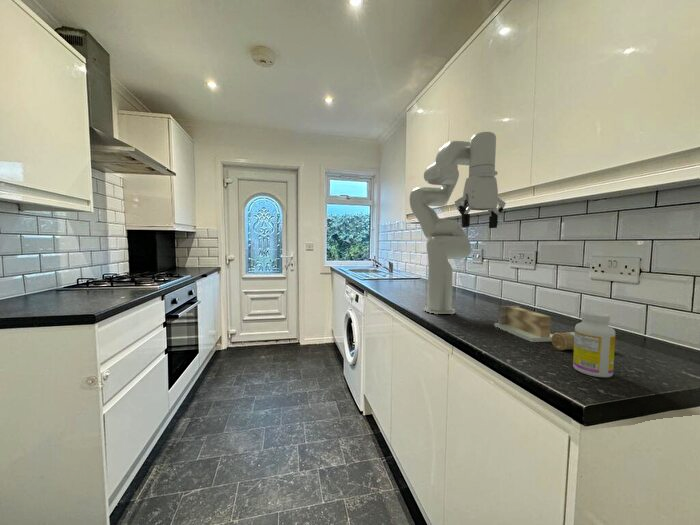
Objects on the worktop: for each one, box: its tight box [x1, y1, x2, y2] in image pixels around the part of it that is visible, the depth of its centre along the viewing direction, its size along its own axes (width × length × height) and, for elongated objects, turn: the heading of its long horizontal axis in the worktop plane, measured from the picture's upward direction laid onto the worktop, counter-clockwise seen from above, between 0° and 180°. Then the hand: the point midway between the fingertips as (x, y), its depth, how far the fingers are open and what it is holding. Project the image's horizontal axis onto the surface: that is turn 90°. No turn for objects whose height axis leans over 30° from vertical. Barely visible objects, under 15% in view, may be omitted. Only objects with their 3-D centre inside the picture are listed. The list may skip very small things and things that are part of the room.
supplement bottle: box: [572, 310, 616, 378], centre depth 61 cm, size 7×7×13 cm
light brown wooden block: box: [498, 305, 552, 337], centre depth 88 cm, size 15×7×6 cm, turn 9°
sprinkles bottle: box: [550, 331, 575, 351], centre depth 75 cm, size 5×5×13 cm
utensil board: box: [493, 322, 554, 343], centre depth 89 cm, size 16×9×1 cm, turn 9°
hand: (479, 227), depth 91 cm, fingers open, 9 cm apart
